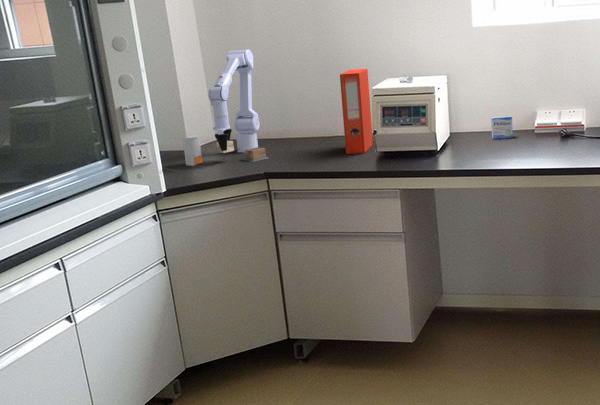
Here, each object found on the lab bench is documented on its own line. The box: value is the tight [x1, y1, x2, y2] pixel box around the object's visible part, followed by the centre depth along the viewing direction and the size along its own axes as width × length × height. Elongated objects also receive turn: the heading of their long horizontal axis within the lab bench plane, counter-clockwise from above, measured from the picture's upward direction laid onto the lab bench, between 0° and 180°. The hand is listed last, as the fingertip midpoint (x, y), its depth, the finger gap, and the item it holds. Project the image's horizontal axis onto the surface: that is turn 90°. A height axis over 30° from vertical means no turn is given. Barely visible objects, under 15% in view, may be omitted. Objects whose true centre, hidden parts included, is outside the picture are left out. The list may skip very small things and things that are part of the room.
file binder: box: [339, 68, 374, 155], centre depth 317 cm, size 8×17×32 cm, turn 164°
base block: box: [245, 146, 267, 162], centre depth 320 cm, size 6×6×4 cm
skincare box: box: [182, 135, 203, 167], centre depth 323 cm, size 6×4×12 cm
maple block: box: [216, 140, 235, 154], centre depth 320 cm, size 5×5×4 cm
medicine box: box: [490, 115, 514, 140], centre depth 313 cm, size 8×4×9 cm, turn 81°
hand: (225, 148), depth 320 cm, fingers closed on maple block, 7 cm apart
